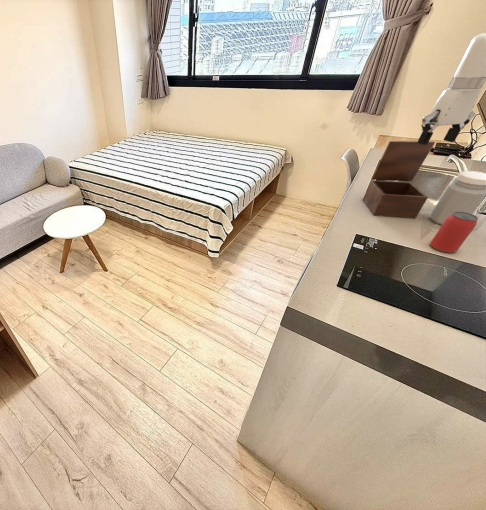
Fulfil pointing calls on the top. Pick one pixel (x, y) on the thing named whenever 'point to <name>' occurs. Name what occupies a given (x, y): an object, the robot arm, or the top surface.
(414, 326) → the top surface
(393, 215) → the storage box
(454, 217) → the beer can
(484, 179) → the jar
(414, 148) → the box lid
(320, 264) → the top surface
